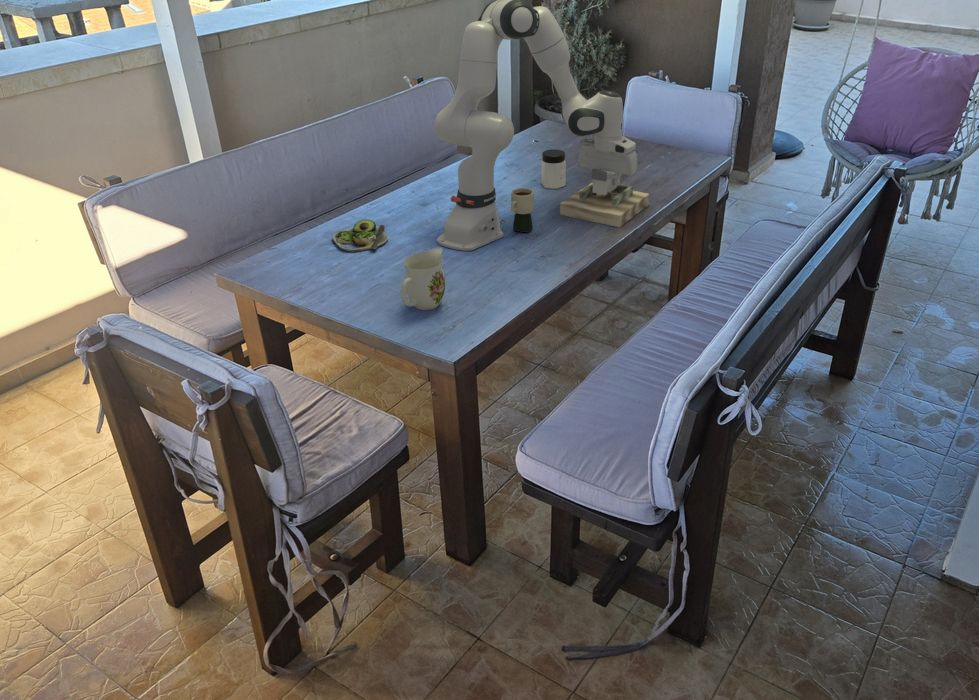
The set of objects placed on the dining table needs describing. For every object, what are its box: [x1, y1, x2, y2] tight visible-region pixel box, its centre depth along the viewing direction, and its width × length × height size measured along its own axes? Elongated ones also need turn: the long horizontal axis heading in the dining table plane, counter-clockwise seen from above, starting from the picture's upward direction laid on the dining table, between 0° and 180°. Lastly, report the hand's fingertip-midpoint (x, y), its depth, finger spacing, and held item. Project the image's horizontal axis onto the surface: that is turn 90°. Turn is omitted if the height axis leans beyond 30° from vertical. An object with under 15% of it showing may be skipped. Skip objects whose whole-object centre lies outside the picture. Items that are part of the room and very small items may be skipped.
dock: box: [559, 182, 650, 228], centre depth 283 cm, size 22×22×7 cm
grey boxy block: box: [591, 169, 621, 198], centre depth 280 cm, size 11×6×10 cm, turn 146°
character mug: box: [510, 187, 535, 233], centre depth 269 cm, size 11×7×13 cm, turn 139°
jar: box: [540, 148, 567, 190], centre depth 303 cm, size 9×8×12 cm
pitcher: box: [400, 247, 446, 311], centre depth 227 cm, size 11×18×14 cm, turn 147°
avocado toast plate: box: [331, 218, 389, 253], centre depth 268 cm, size 19×18×5 cm
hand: (606, 183), depth 280 cm, fingers closed on grey boxy block, 5 cm apart
